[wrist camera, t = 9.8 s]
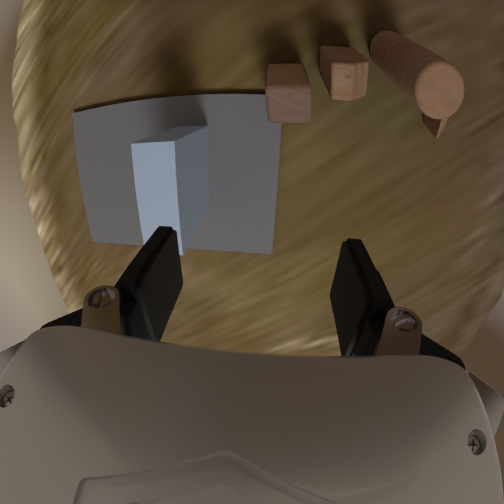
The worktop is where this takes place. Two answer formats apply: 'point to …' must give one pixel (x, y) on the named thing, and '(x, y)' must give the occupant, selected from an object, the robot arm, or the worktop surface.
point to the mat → (219, 167)
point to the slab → (172, 181)
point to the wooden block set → (355, 80)
